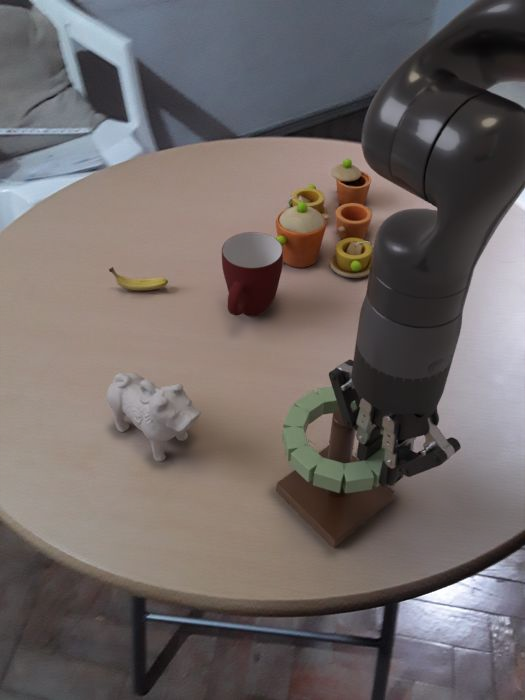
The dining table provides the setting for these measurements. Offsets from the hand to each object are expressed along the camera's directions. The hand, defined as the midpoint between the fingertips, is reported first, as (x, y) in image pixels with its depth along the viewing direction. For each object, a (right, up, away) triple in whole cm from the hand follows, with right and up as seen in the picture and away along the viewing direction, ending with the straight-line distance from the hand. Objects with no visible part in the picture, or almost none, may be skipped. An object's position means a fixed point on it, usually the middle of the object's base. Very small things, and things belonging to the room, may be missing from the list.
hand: (378, 471), depth 65 cm
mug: (-13, +17, +31) cm, 37 cm away
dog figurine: (-23, +1, +15) cm, 28 cm away
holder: (-3, -4, +9) cm, 11 cm away
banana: (-29, +20, +34) cm, 49 cm away
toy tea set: (0, +30, +45) cm, 54 cm away
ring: (-3, +2, +3) cm, 5 cm away
